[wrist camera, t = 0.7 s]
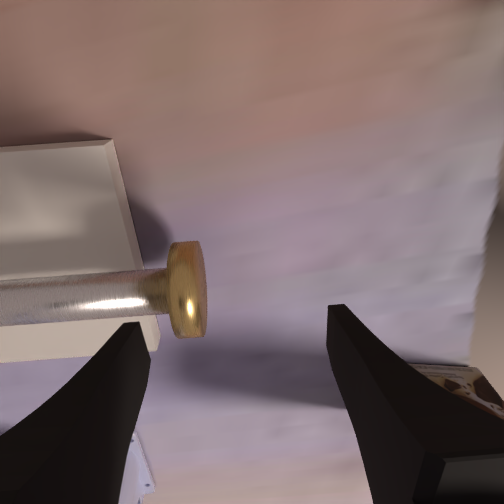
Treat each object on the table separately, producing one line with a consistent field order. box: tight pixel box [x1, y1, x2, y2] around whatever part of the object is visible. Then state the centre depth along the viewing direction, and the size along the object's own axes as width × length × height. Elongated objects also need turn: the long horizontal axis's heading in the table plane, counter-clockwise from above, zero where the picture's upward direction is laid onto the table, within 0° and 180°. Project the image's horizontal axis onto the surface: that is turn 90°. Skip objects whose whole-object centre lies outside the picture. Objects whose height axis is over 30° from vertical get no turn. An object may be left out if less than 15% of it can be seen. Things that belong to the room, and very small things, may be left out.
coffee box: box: [409, 364, 504, 420], centre depth 23 cm, size 9×6×16 cm
